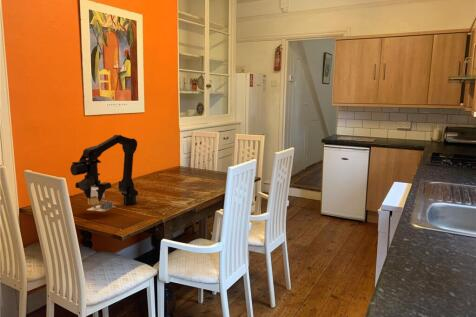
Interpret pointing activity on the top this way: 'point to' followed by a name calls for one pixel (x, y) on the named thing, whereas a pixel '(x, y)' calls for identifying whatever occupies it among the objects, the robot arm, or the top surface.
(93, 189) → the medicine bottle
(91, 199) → the brass gear
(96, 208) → the birch gear board
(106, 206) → the grey gear
